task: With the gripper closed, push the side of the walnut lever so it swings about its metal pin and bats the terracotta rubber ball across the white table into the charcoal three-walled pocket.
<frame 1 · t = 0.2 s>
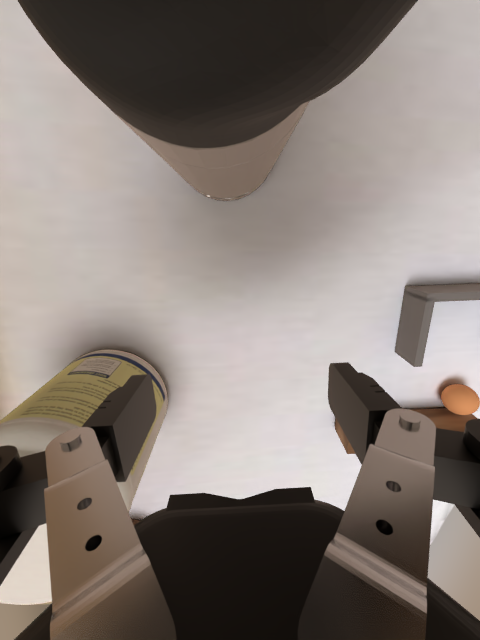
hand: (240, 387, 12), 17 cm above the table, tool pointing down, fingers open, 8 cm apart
ball: (448, 390, 32), on the table
supplement tub: (120, 391, 32), on the table
pocket: (452, 319, 29), on the table
lever: (409, 431, 31), point 3 cm above the table, hinge at 0.0°
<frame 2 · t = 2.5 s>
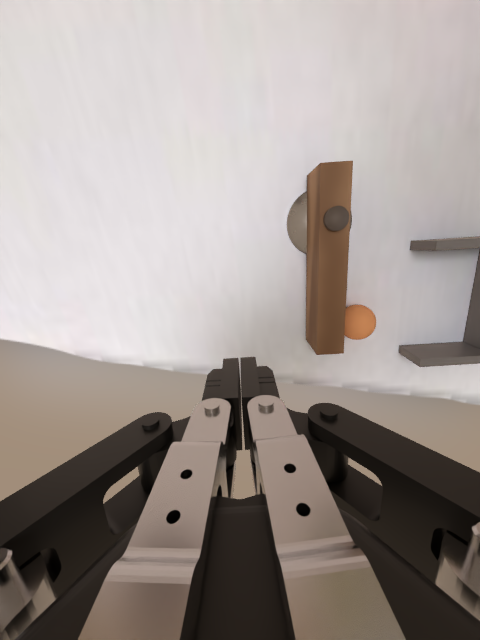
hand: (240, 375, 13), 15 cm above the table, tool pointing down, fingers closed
ball: (349, 317, 28), on the table
pocket: (439, 297, 27), on the table
lever: (326, 265, 24), point 3 cm above the table, hinge at 0.0°
pin plate: (318, 222, 25), on the table
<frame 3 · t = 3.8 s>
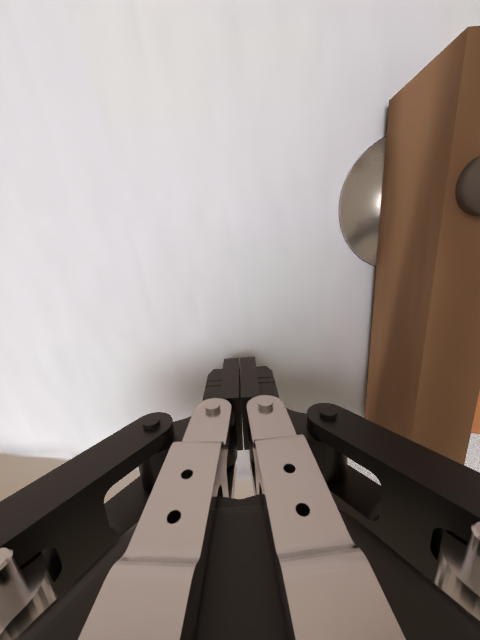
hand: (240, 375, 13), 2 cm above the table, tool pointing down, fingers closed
lever: (431, 293, 11), point 3 cm above the table, hinge at 0.0°
pin plate: (403, 203, 13), on the table
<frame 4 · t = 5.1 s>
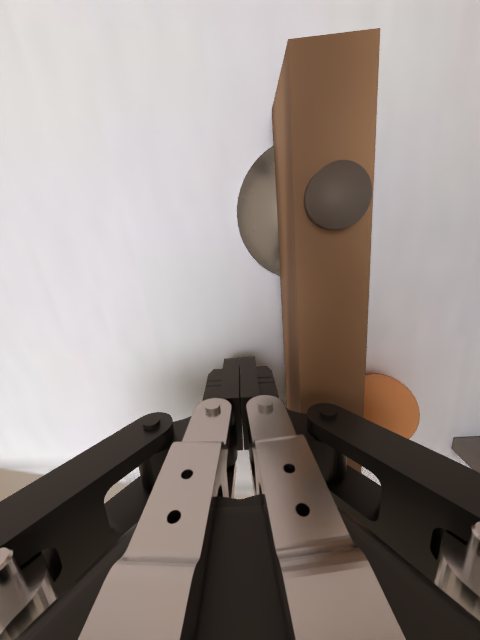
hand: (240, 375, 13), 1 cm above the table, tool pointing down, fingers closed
ball: (363, 390, 15), on the table
lever: (319, 305, 11), point 3 cm above the table, hinge at 1.6°, touching gripper
pin plate: (302, 212, 12), on the table
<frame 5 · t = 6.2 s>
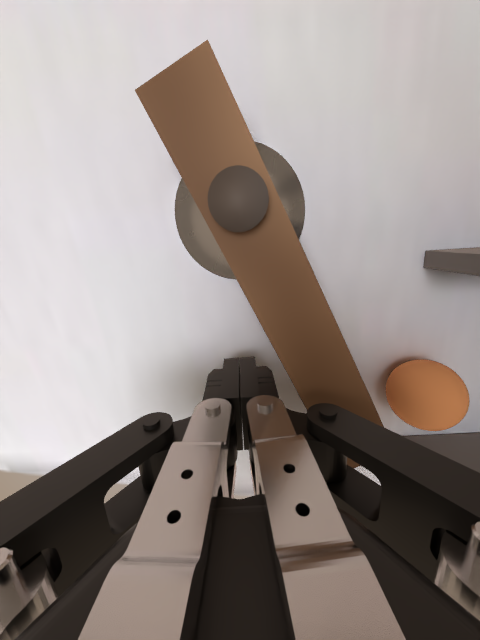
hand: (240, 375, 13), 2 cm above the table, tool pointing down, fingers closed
ball: (448, 415, 12), point 3 cm above the table, tilted 178°
pocket: (478, 356, 15), on the table
lever: (282, 295, 11), point 3 cm above the table, hinge at 24.6°, touching gripper
pin plate: (239, 214, 13), on the table
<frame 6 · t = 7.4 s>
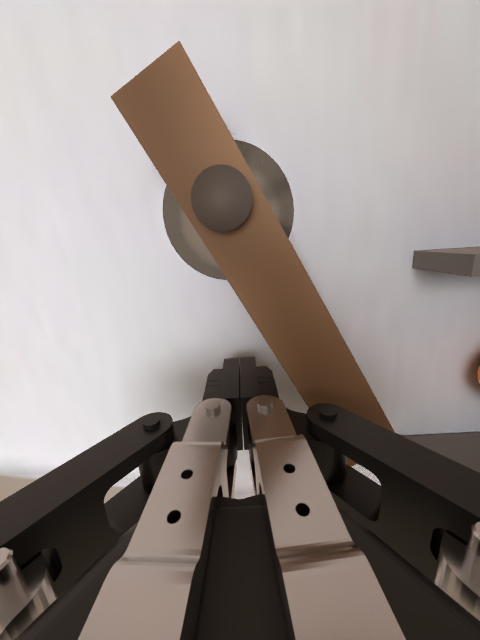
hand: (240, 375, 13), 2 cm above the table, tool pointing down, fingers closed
pocket: (468, 356, 15), on the table
lever: (275, 292, 11), point 3 cm above the table, hinge at 28.4°, touching gripper
pin plate: (228, 214, 13), on the table
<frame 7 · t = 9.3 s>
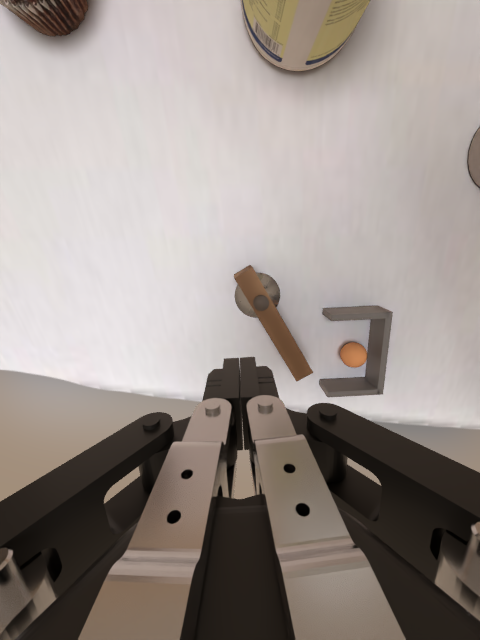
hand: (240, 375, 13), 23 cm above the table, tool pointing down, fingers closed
ball: (357, 350, 38), on the table, tilted 40°
supplement tub: (298, 7, 28), on the table
pocket: (346, 346, 38), on the table
lever: (273, 324, 34), point 3 cm above the table, hinge at 28.5°
pin plate: (257, 295, 36), on the table
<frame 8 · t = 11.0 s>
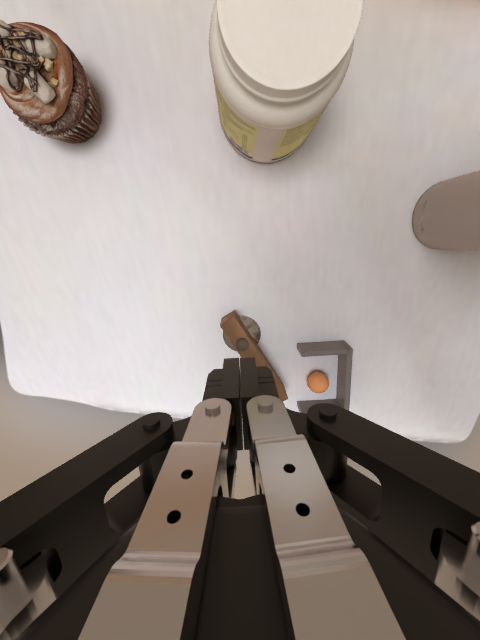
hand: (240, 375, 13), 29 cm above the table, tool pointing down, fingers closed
ball: (326, 380, 44), point 1 cm above the table, tilted 71°
supplement tub: (265, 113, 35), on the table
cupcake: (72, 109, 35), on the table
pocket: (318, 374, 45), on the table
lever: (254, 359, 42), point 3 cm above the table, hinge at 28.5°
pin plate: (241, 334, 43), on the table
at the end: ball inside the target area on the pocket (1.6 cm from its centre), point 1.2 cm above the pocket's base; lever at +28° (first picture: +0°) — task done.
